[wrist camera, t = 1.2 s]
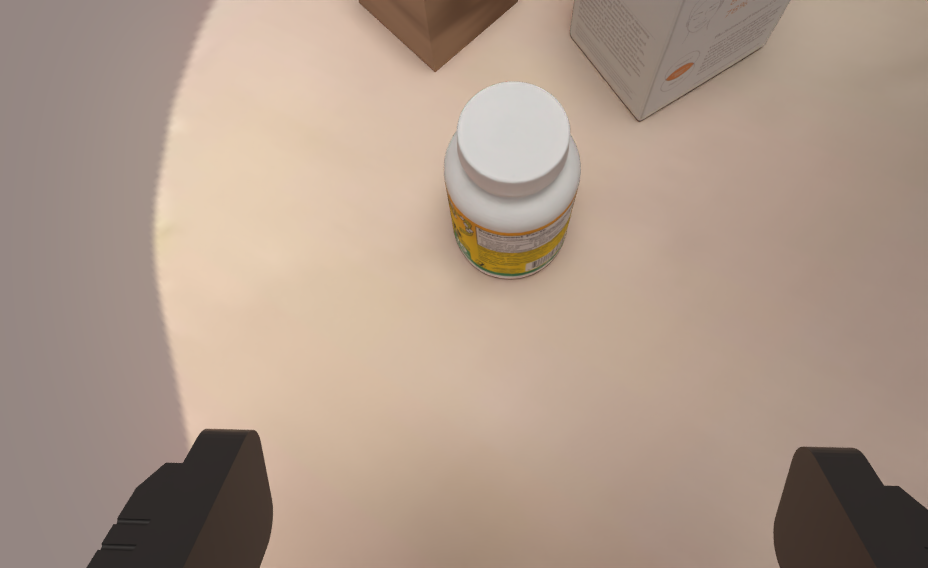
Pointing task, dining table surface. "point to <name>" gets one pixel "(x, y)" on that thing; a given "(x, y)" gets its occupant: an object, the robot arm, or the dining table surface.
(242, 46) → the dining table surface
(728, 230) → the dining table surface
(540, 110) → the supplement bottle
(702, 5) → the small box
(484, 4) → the walnut cube
